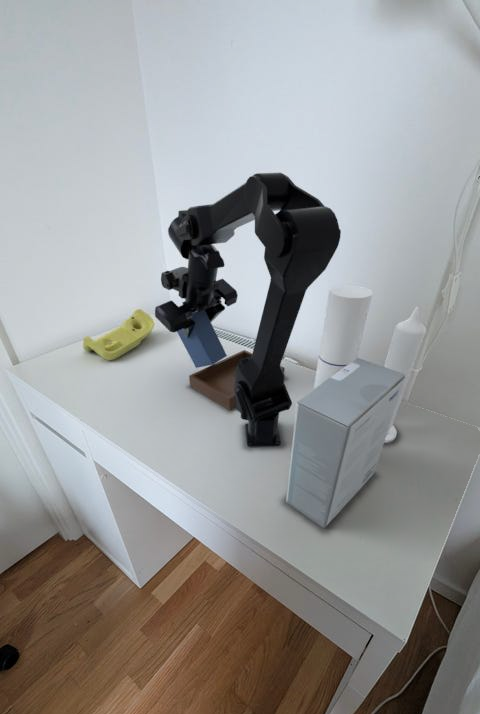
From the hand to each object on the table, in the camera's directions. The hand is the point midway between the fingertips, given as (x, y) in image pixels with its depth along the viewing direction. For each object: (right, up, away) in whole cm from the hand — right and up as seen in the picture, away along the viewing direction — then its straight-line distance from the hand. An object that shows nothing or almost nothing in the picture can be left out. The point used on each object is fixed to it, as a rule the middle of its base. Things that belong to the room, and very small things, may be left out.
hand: (194, 332), depth 79 cm
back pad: (+4, -7, +2) cm, 8 cm away
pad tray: (+10, -12, +3) cm, 16 cm away
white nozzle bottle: (+38, -23, -12) cm, 46 cm away
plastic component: (-23, +1, +19) cm, 29 cm away
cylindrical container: (+30, -19, -6) cm, 36 cm away
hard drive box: (+26, -33, -23) cm, 48 cm away
